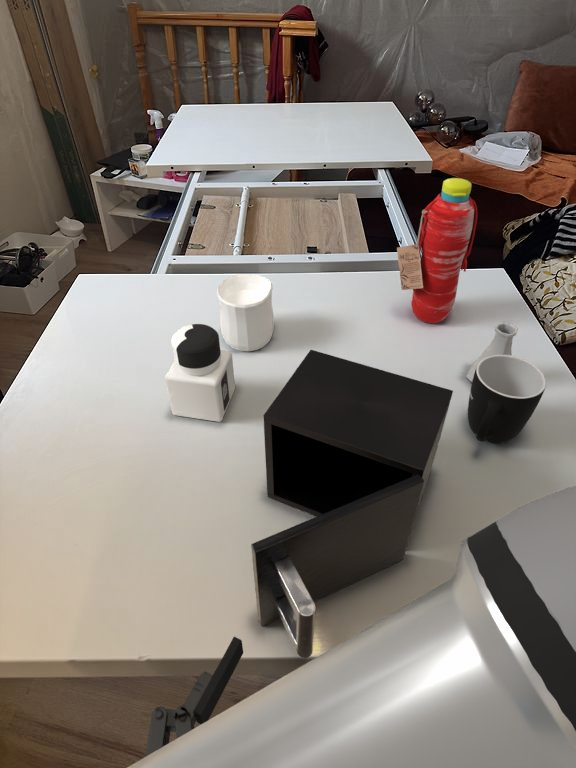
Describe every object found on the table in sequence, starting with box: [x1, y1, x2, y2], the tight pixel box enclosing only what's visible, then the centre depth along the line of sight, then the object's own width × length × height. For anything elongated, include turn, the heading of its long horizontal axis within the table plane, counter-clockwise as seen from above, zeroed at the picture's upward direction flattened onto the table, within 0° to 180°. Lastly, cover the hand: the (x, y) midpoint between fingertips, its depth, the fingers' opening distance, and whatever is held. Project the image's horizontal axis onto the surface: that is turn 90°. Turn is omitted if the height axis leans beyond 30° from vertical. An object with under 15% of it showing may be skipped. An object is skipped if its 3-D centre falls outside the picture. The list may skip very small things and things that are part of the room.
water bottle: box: [396, 177, 479, 324], centre depth 90 cm, size 12×8×25 cm, turn 89°
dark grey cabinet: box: [262, 349, 454, 519], centre depth 65 cm, size 13×18×15 cm
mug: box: [467, 355, 547, 444], centre depth 73 cm, size 12×9×10 cm
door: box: [250, 474, 424, 659], centre depth 52 cm, size 7×18×15 cm, turn 116°
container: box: [164, 323, 236, 423], centre depth 77 cm, size 8×8×13 cm
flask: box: [466, 321, 519, 383], centre depth 82 cm, size 7×7×10 cm
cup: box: [216, 273, 275, 352], centre depth 91 cm, size 10×10×10 cm
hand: (308, 679), depth 45 cm, fingers open, 13 cm apart
